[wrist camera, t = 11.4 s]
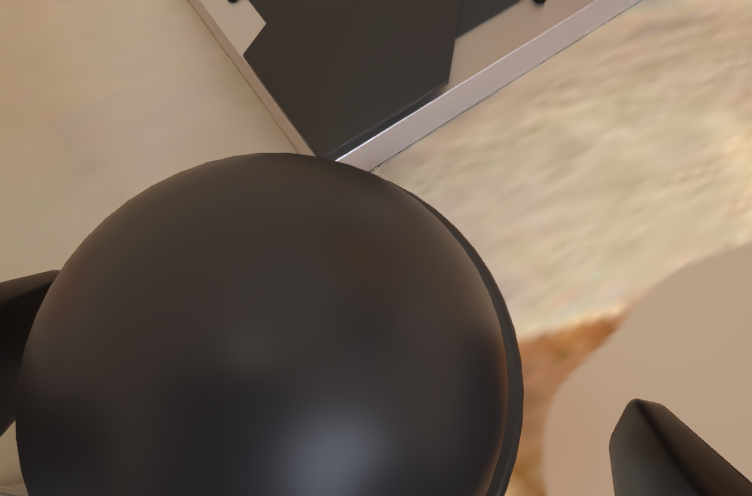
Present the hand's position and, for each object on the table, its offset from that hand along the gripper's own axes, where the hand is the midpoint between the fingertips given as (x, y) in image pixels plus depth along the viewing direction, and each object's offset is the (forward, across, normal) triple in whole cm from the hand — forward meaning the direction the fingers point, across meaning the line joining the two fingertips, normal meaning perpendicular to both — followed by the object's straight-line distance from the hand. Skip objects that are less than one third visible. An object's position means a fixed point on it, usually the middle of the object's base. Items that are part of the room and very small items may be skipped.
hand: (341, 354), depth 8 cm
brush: (+6, 0, +6) cm, 8 cm away
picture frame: (+20, +1, -8) cm, 21 cm away
